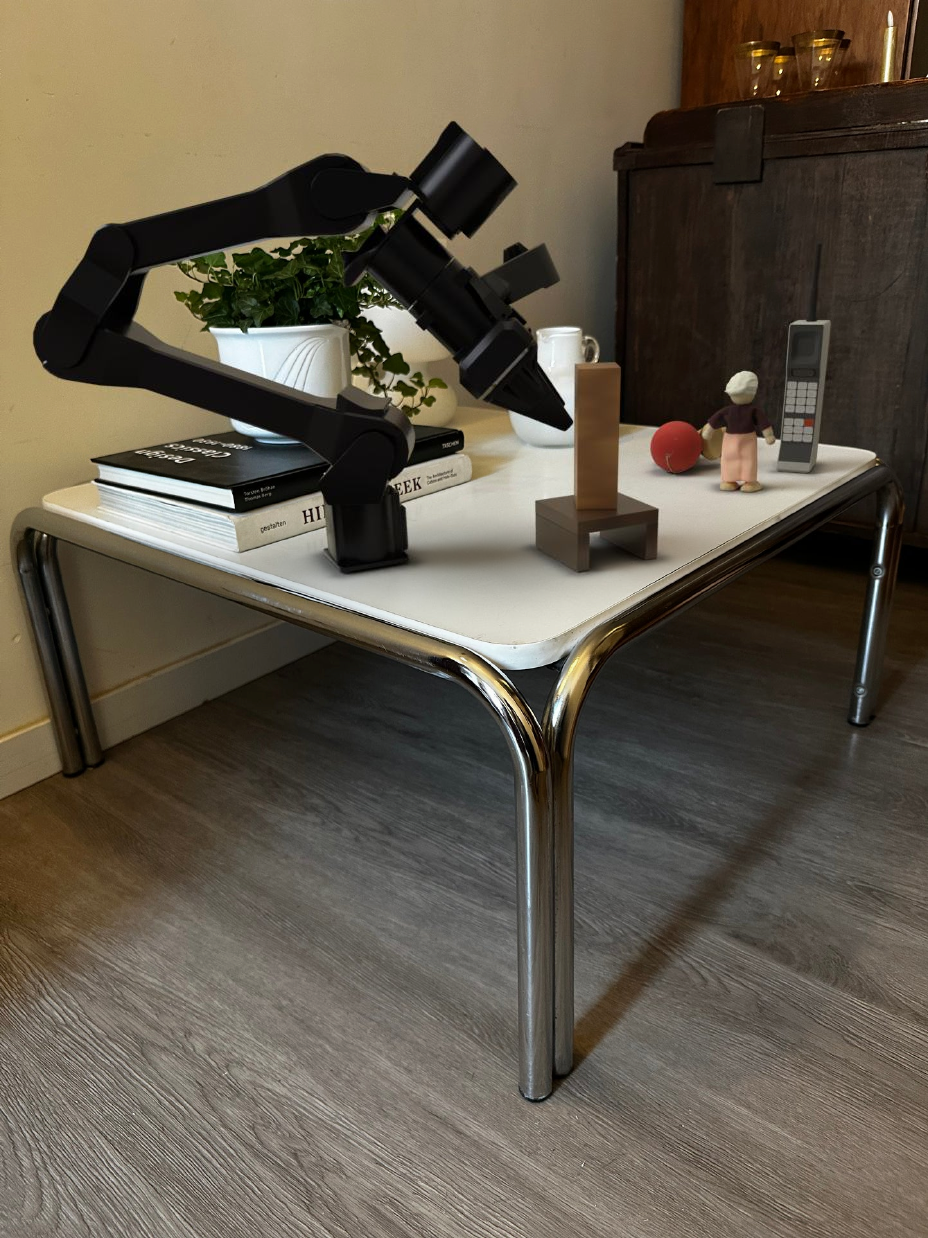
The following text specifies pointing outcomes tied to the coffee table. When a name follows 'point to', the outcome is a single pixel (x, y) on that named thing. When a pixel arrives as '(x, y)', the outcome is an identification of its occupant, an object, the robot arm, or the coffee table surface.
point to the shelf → (594, 529)
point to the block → (596, 435)
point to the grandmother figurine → (740, 434)
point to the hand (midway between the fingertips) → (565, 417)
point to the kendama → (684, 446)
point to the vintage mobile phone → (804, 386)
